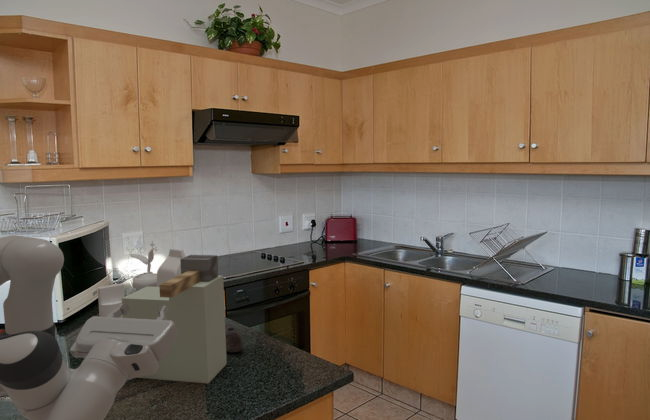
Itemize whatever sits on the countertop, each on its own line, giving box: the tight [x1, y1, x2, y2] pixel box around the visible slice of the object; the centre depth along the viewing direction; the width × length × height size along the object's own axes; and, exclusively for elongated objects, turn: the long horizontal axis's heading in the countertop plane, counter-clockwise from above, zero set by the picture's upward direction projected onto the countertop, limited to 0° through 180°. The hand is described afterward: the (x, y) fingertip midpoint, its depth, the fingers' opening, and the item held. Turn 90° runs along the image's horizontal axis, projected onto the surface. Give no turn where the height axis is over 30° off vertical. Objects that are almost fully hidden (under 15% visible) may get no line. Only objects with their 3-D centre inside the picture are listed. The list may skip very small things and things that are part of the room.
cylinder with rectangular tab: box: [97, 282, 125, 318], centre depth 177 cm, size 9×9×12 cm
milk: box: [156, 248, 186, 287], centre depth 174 cm, size 12×12×26 cm
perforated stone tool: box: [225, 324, 243, 353], centre depth 146 cm, size 15×5×7 cm, turn 20°
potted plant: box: [129, 240, 158, 291], centre depth 200 cm, size 13×12×25 cm
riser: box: [122, 274, 228, 384], centre depth 130 cm, size 12×24×26 cm, turn 79°
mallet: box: [159, 254, 219, 298], centre depth 121 cm, size 21×8×6 cm, turn 169°
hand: (145, 306), depth 102 cm, fingers open, 8 cm apart
